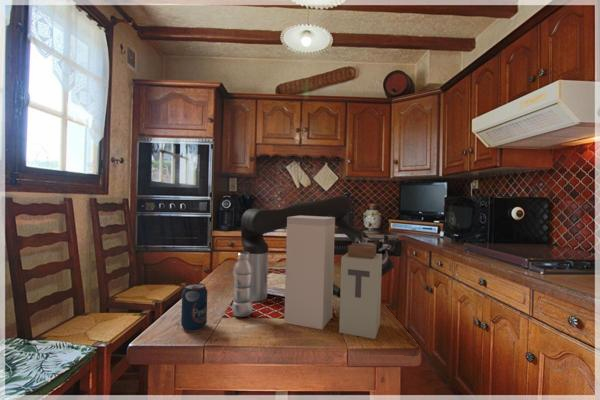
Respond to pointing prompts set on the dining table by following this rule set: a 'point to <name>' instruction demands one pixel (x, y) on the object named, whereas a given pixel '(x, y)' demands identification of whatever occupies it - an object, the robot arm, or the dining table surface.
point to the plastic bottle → (242, 286)
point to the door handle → (336, 290)
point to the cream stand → (309, 271)
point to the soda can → (194, 307)
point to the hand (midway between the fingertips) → (372, 236)
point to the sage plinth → (360, 296)
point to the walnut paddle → (362, 250)
